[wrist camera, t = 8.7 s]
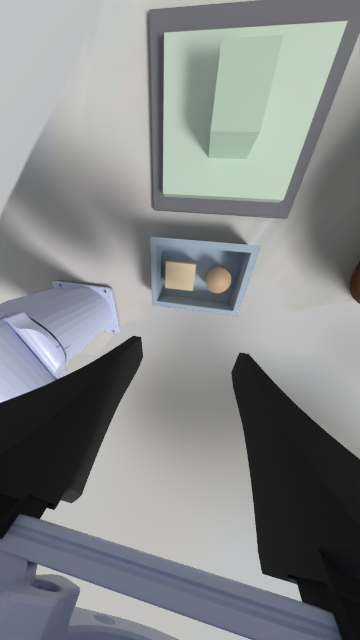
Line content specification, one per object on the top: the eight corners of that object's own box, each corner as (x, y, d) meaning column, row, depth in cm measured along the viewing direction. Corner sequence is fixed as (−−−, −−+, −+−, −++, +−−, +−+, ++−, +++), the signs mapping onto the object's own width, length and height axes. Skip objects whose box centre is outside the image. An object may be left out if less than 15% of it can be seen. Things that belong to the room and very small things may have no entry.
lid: (165, 196, 13) (153, 180, 10) (167, 49, 9) (148, -57, 6) (278, 202, 12) (306, 187, 9) (335, 40, 8) (419, -92, 5)
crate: (159, 296, 18) (152, 305, 16) (159, 238, 15) (149, 236, 12) (231, 305, 17) (237, 316, 15) (249, 245, 14) (260, 245, 11)
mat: (154, 210, 14) (153, 209, 13) (151, 18, 9) (149, 9, 8) (284, 218, 13) (287, 217, 12) (367, 2, 8) (375, -9, 7)
